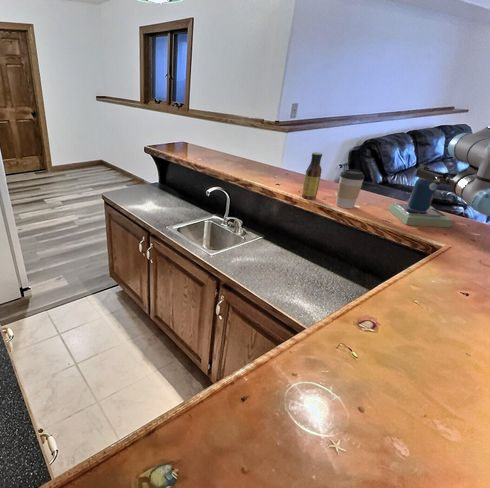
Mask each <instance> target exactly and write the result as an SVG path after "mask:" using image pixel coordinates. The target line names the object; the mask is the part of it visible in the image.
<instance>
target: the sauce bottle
mask: <svg viewBox="0 0 490 488" xmlns="http://www.w3.org/2000/svg"><path fill="white" fill-rule="evenodd" d="M322 157H323V153H322V152H318V151H317V152H315V151H314V152H312V153H311V160H310V163H309V165H308V167H307V169H306V170H305V175H304V179H303V180H304V181H303V186H302V191H301V197H302V198H303V197H304V198H303V199H306V198H308V199H307V200H315V199H316V198H317V196H318V191H319V186H320V181H321V176H322V170H323V169H322V166H321V161H322Z"/></svg>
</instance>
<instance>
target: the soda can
mask: <svg viewBox="0 0 490 488" xmlns="http://www.w3.org/2000/svg"><path fill="white" fill-rule="evenodd" d="M438 186H439V185H437V184H435V183H433V182H431V181H428V180H425V179H422V178H419V177H418V178H417V180H415V183H414V184H413V188H412V190H411V193H410V196H409V200H408V203H407V204H408V206H409V208H410V209H411V210H414V211H420V212H424V211H426V210H428V209H429V208H430V206H432V202H433V199H434V197H435V194H436V191H437V189H438Z"/></svg>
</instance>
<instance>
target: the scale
mask: <svg viewBox="0 0 490 488" xmlns="http://www.w3.org/2000/svg"><path fill="white" fill-rule="evenodd" d="M430 208H431V209H432V210H434V211H435V212H437V213H438V214H440V215H441V216H440V217H428V216H412V215H407V214H406V213H405V212H403V211H402V210H401V209H400V208H398V207H397V206H396V203H390V206H389V208H388V211H389V212H390V214H392V215H394V216H395V217H396V218H397V219H398V220H399V221H401V222H402V223H403V224H404V225H407V226H418V227H419V226H420V227H421V226H422V227H435V228H451V225H452V223H453V219H452V218H450V217H449V216H447V215H446V214H444V213H443V212H441V211H439V210H438V209H436V208H435V207H433V206H432V205H430Z"/></svg>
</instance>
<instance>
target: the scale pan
mask: <svg viewBox="0 0 490 488" xmlns="http://www.w3.org/2000/svg"><path fill="white" fill-rule="evenodd" d="M395 204H396V206H397V207H398V208H400V209H401V210H402V211H403V212H405V213H406V214H407V215H412V216H428V217H440V216H441V215H440V214H438V213H437V212H435V211H434V210H432V209H431V208H429V209H428V210H426V211H424V212H420V211H414V210H411V209H410V208H409V206H408V203H399V202H398V203H397V202H396V203H395Z"/></svg>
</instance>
